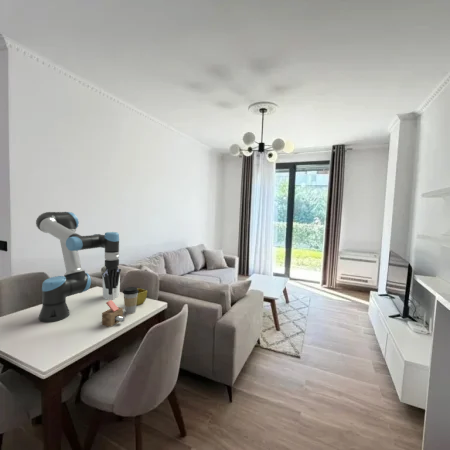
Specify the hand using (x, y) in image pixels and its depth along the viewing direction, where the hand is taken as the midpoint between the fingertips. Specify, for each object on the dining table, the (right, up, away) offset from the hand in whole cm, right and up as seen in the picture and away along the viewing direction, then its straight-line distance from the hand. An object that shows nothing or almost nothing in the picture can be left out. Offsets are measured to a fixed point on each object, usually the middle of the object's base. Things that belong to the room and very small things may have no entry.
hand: (111, 299), depth 148 cm
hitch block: (0, -13, +1) cm, 14 cm away
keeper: (0, -4, 0) cm, 4 cm away
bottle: (-19, -10, +43) cm, 48 cm away
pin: (+1, -13, 0) cm, 13 cm away
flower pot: (+5, -12, +31) cm, 33 cm away
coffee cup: (+5, -13, +16) cm, 21 cm away
